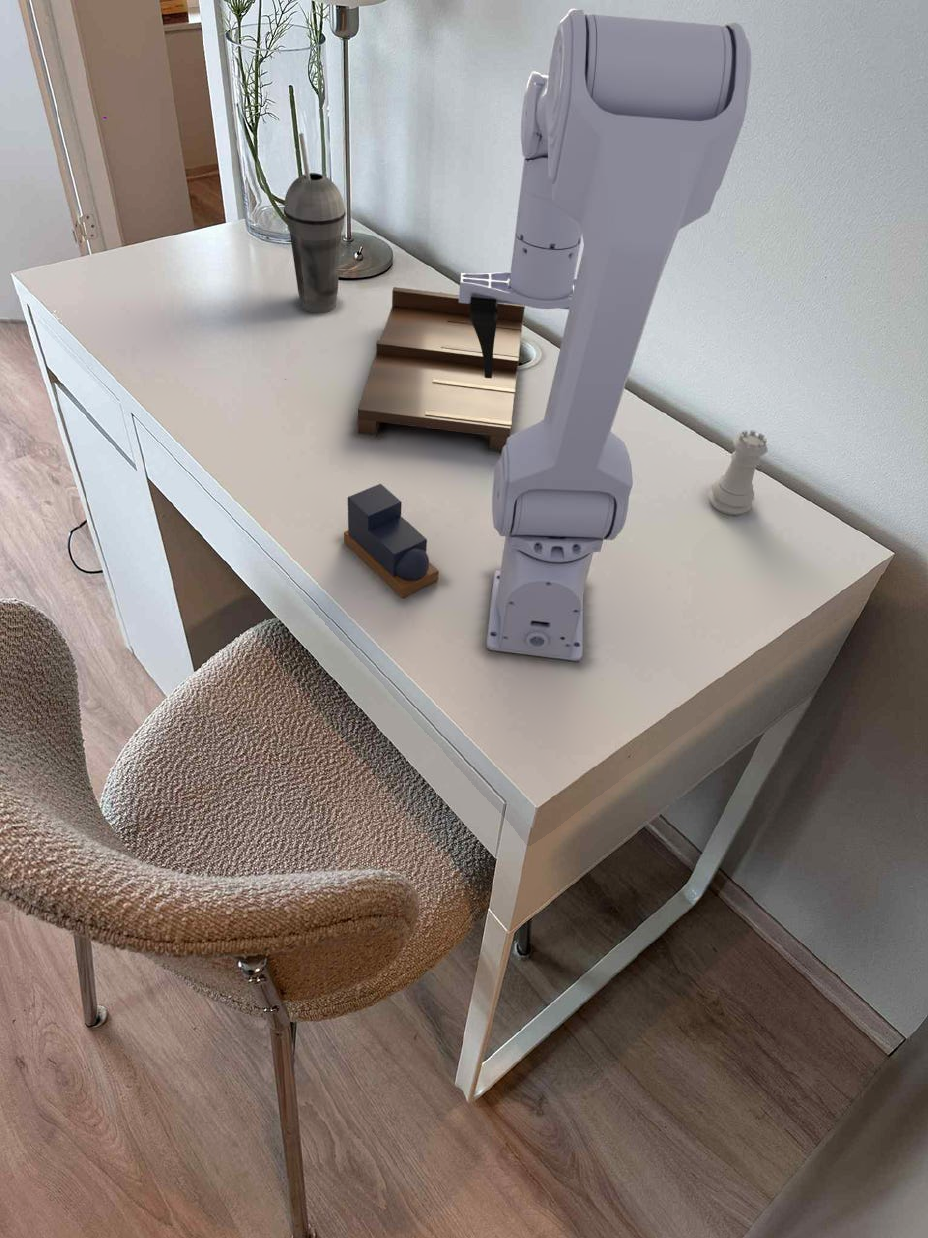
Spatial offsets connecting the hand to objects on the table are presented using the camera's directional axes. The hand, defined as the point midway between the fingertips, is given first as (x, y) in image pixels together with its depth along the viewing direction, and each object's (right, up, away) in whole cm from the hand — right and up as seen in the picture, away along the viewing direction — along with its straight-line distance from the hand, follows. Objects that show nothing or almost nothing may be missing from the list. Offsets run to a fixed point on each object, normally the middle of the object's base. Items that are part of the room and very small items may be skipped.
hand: (527, 376), depth 86 cm
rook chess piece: (+21, -12, +4) cm, 24 cm away
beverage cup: (-25, +16, +27) cm, 40 cm away
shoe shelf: (-8, +4, +16) cm, 18 cm away
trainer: (-13, -18, -6) cm, 23 cm away
